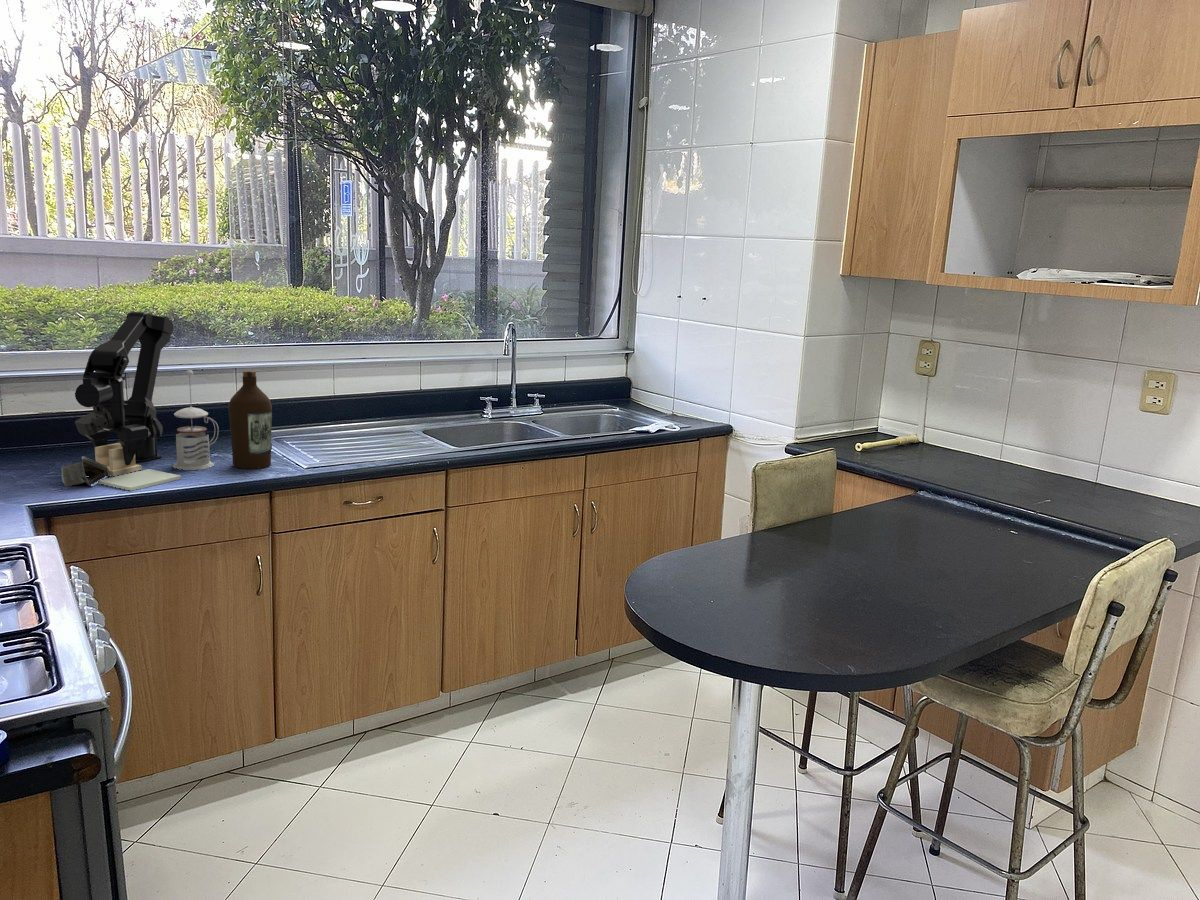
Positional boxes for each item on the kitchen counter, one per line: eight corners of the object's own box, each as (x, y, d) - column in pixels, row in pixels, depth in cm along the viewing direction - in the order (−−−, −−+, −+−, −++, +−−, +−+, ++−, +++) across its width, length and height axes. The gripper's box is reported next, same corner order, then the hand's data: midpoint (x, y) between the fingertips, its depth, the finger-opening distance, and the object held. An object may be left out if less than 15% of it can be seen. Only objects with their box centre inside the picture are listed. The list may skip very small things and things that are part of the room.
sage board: (149, 472, 224) (148, 469, 224) (181, 478, 220) (180, 475, 219) (98, 483, 211) (97, 480, 211) (130, 491, 207) (130, 487, 207)
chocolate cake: (82, 476, 219) (52, 450, 209) (111, 469, 219) (83, 443, 209) (80, 509, 214) (49, 484, 204) (109, 501, 214) (80, 476, 204)
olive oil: (221, 464, 235) (218, 370, 230) (256, 458, 244) (254, 367, 238) (247, 472, 229) (244, 375, 224) (281, 465, 238) (279, 371, 233)
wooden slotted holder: (119, 466, 229) (117, 441, 227) (141, 471, 226) (140, 445, 224) (90, 472, 221) (88, 447, 220) (113, 477, 218) (112, 451, 217)
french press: (165, 464, 232) (160, 368, 227) (209, 458, 241) (205, 366, 236) (183, 471, 226) (179, 373, 221) (227, 465, 235) (224, 370, 229)
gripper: (53, 400, 216) (58, 463, 219) (107, 409, 208) (111, 474, 212) (96, 394, 226) (100, 454, 229) (148, 403, 218) (152, 465, 222)
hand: (114, 462), depth 223 cm, fingers open, 9 cm apart
